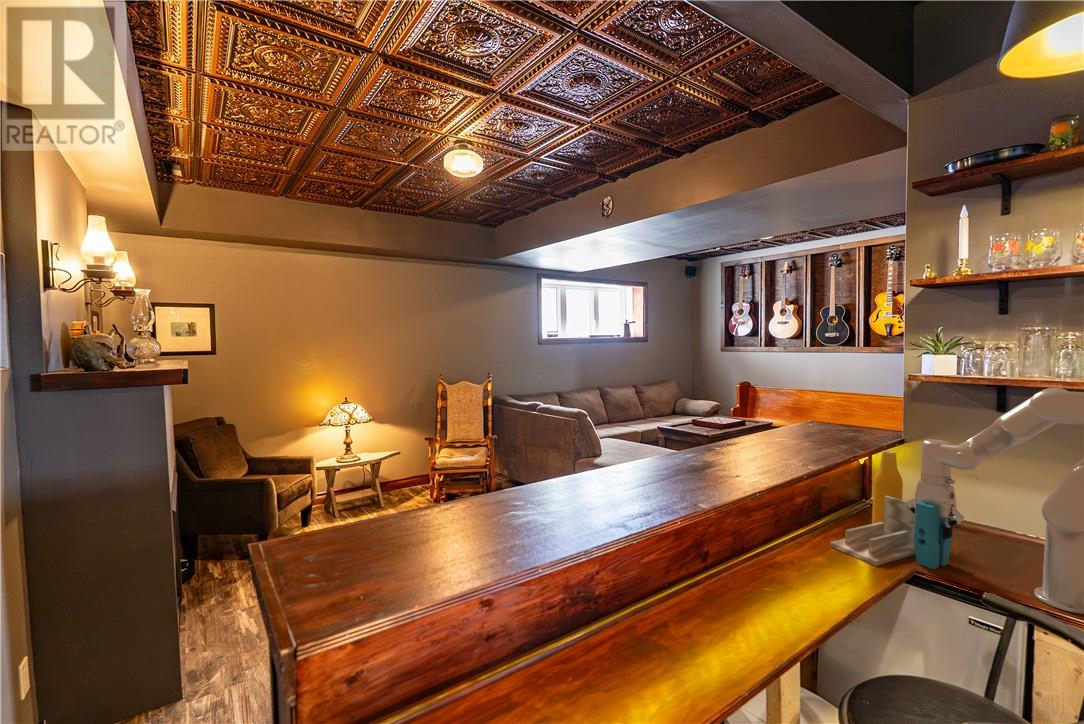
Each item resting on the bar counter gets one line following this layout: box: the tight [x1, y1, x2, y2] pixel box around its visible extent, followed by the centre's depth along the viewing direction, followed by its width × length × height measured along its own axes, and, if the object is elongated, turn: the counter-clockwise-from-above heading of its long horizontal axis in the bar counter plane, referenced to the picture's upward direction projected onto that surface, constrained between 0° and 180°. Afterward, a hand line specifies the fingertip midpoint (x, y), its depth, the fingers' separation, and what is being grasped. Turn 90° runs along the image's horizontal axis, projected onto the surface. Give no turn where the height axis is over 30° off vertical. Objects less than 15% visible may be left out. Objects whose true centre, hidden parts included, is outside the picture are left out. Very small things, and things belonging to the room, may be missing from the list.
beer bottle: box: [871, 450, 904, 524], centre depth 191 cm, size 9×9×29 cm
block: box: [914, 501, 954, 570], centre depth 162 cm, size 12×5×20 cm, turn 113°
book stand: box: [829, 496, 916, 567], centre depth 172 cm, size 16×24×16 cm, turn 112°
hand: (933, 533), depth 162 cm, fingers open, 7 cm apart
